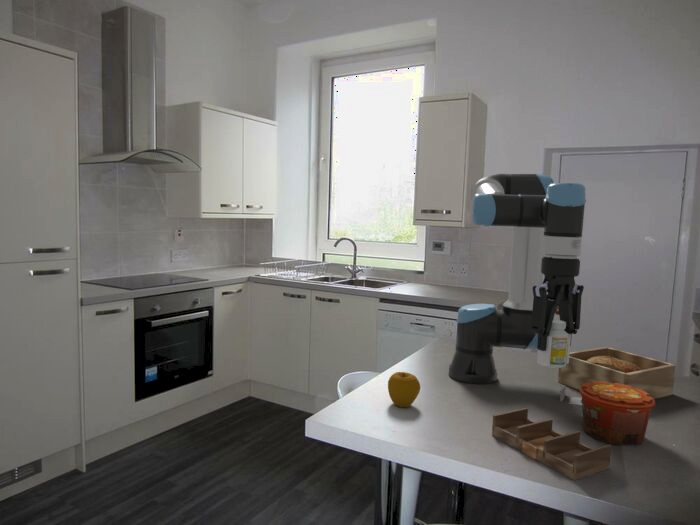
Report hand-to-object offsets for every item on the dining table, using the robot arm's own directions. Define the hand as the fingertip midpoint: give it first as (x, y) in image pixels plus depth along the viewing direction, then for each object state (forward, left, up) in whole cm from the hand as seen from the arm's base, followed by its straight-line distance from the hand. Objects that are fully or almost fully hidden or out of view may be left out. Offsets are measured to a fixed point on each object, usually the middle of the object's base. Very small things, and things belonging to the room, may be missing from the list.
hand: (552, 363), depth 107 cm
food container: (+1, +22, -20) cm, 30 cm away
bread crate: (-20, +55, -20) cm, 62 cm away
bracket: (-17, +34, -20) cm, 43 cm away
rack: (0, 0, -20) cm, 20 cm away
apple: (-35, -14, -20) cm, 43 cm away
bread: (-20, +55, -20) cm, 62 cm away
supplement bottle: (0, 0, 0) cm, 1 cm away
